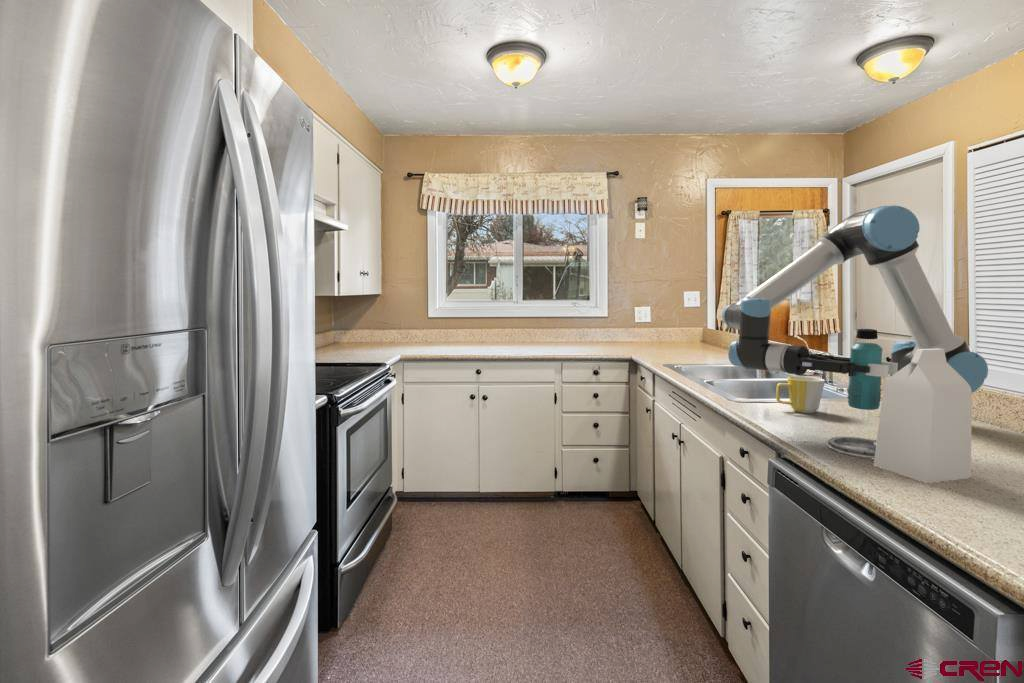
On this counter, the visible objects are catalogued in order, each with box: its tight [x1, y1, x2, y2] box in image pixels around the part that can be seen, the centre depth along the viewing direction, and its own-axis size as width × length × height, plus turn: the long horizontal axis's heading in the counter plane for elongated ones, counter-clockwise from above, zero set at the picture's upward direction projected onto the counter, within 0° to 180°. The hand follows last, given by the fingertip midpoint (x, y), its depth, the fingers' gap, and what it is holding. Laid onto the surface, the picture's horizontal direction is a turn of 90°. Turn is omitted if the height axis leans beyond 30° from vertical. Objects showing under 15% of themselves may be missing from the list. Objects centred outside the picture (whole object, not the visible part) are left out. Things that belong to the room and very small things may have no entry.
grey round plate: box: [826, 436, 877, 459], centre depth 129 cm, size 14×14×1 cm
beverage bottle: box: [847, 328, 883, 411], centre depth 127 cm, size 6×7×20 cm
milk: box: [873, 348, 973, 484], centre depth 113 cm, size 12×12×26 cm
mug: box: [775, 375, 826, 414], centre depth 170 cm, size 14×10×10 cm
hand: (892, 370), depth 123 cm, fingers closed on beverage bottle, 5 cm apart
